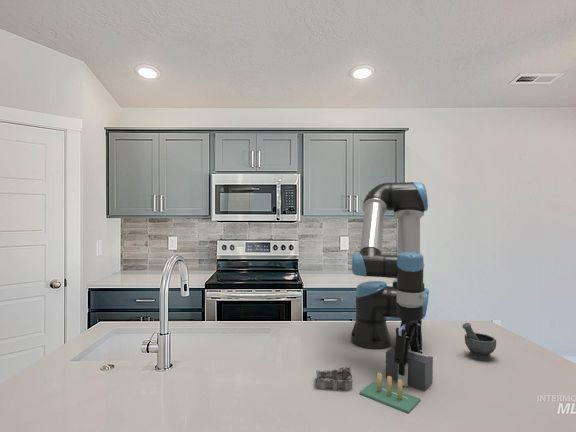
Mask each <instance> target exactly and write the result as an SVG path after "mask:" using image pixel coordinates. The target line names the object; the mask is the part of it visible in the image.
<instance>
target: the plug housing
mask: <svg viewBox="0 0 576 432" xmlns="http://www.w3.org/2000/svg"><path fill="white" fill-rule="evenodd" d="M394 358H395V345H394V346H393V347H391V348H389V349H388V350H386V351H385V379H387V376H391V377H392V381H394V382H397V383H398V363H396V362H394ZM407 364H408V386H407V387H411V388H414V389H417V390H421V391H423V392H426V391H427V390H428V389H429V388H430V387H431V386H432V385H433V382H434V381H433V380H434V378H433V377H434V374H433V373H434V371H433V369H434V368H433V367H434V366H433V364H434V357H433V356H432V355H427V354H423V353H422V354H421V353H417V352H413V351H411V349H409V351H408V357H407Z"/></svg>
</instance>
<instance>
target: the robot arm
mask: <svg viewBox="0 0 576 432" xmlns="http://www.w3.org/2000/svg"><path fill="white" fill-rule="evenodd" d="M428 210H429V202H428V193H427V189H426V186H425V184H424V183H423V182H415V181H411V182H410V181H409V182H408V181H407V182H405V181H404V182H403V181H401V182H383V183H379V184H378V185H376V186H374V187H373V188H372V189H371V190H369V191H368V193H367V194H366V195H365V198H364V200H363V202H362V211H363V212H364V213H363V214H364V215H363V222H362V228H361V229H362V231H361V238H360V247H359V253H358V252H357V253H353V255H352V257H351V270H352V274H353V275H354V276H359V277H372V278H373V277H374V278H388V279H389V278H390V279H394V280H393V281H392V285H391V286H390V285H388V284H387V282H386V281H381V280H371V281H363V282H362V283H359V284H357V285H356V291H355V322H354V325H353V328H352V330H351V334H350V342H351V343H352V344H354V345H355V346H358V347H361V348H363V349H364V348H365V349H372V350H377V349H380V350H381V349H385V348H388V347H390V346H391V342H392V341H391V335H390V332H389V329H388V324H387V318H393V319H396V318H397V319H400V320H401V321H400V325H399V326H400V327H396V329H395V345H394V346H395V358H394V362H396V363H398V380H402V381H403V386H402V387H405V388H407V387H409V386H408V364H407V357H408V351H409V350H410V351H413V352H417V353H421V354H423V353H424V352H423V351H422V350H423V336H422V333H423V332H422V323H423V320H424V319H425V318H426V314H427V309H428V305H429V304H428V303H429V296H430V295H429V289H428V288H427V287H425V283H424V268H425V264H424V263H425V262H424V255H423V254H421V219H422V218H423V216H424V215H425V212H426V211H428ZM387 211H389V212H390V211H392V212H393V216H394V217H395V218H396V219H397V224H396V225H397V227H396V228H397V229H396V231H397V233H396V234H397V236H396V237H397V239H396V240H397V241H396V254H393V255H392V254H382V252H383V240H384V239H383V237H384V221H385V219H384V218H385V214H386V213H387Z"/></svg>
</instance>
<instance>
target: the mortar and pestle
mask: <svg viewBox="0 0 576 432" xmlns="http://www.w3.org/2000/svg"><path fill="white" fill-rule="evenodd" d="M461 327H462V329H464V331H465V333H466V334H464V342H465V345H466V347H467V348H468V350H469V351H470V352H469V355H470V357H471V358H472V359H475V360H479V361H489V360H490V359H491V354H492V353H493V352H495V350H496V347H497V339H496V338H495V337H494V336H491V335H488V334H485V333H478V332H475V331H474V330H473V328H472V325H471V323H470V322H465V323H463V324H462V326H461Z"/></svg>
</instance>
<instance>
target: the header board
mask: <svg viewBox="0 0 576 432" xmlns="http://www.w3.org/2000/svg"><path fill="white" fill-rule="evenodd" d="M376 376H377V377H376V378H377V379H376V381H372V382H370V383H369V384H368V385H366V386H365V387H364V388H362V389H361V390H360V391H359V395H361V396H364V397H366V398H368V399H371V400H373V401H376V402H379V403H381V404H383V405H386V406H389V407H391V408H394V409H396V410H398V411H401V412H404V413H406V414H410V412H411V411H412V410H413V409H414V408H416V406H417V405H418V404H419V403H420V402H421V398H420V397H418V396H413V395H411V394H408V393H406V392H403V387H404V386H403V381H402V380H398V382H397V389H395V388H393V387H392V386H393V380H392V377H391V376H387V378H386V380H387V383H386V385H383V382H382V381H383V378H382V376H383V375H382V373H381V372H377V374H376Z"/></svg>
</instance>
